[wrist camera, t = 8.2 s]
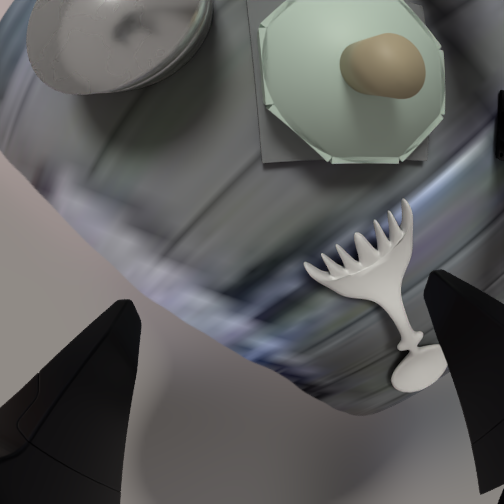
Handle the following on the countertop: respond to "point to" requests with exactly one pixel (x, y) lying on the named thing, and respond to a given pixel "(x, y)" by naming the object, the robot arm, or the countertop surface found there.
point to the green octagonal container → (352, 77)
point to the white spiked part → (386, 294)
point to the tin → (113, 42)
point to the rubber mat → (270, 126)
